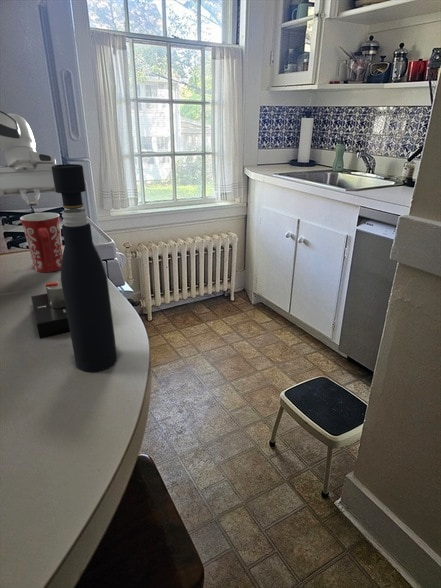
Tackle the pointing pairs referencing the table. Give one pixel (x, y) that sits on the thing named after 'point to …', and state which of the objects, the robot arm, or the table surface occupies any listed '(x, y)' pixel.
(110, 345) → the black bottle
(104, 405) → the table surface
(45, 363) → the table surface
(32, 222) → the mug
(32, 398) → the table surface
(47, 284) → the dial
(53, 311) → the panel
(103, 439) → the table surface
